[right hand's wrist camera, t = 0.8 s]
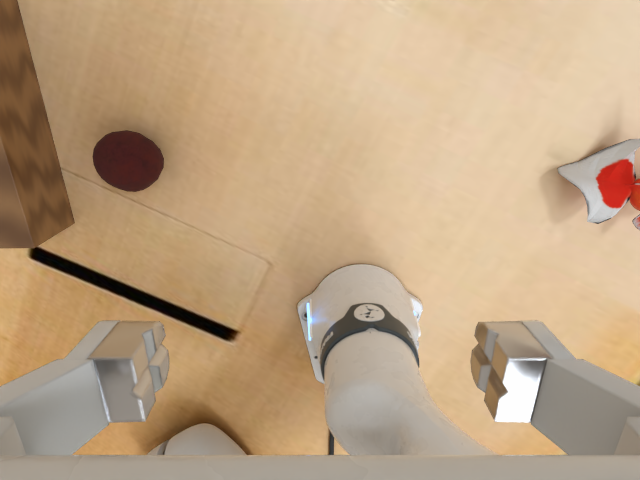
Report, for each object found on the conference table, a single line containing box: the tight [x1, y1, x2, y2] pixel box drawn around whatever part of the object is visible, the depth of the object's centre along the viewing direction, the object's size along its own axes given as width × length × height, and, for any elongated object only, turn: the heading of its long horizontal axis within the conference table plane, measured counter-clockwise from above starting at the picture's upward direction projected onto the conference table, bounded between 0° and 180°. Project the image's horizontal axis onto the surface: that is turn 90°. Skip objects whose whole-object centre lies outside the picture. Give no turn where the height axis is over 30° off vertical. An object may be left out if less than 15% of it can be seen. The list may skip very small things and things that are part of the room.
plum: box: [93, 131, 164, 192], centre depth 49 cm, size 7×8×7 cm
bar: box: [0, 0, 75, 248], centre depth 47 cm, size 28×6×9 cm, turn 0°
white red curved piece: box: [557, 139, 640, 230], centre depth 50 cm, size 11×16×10 cm
